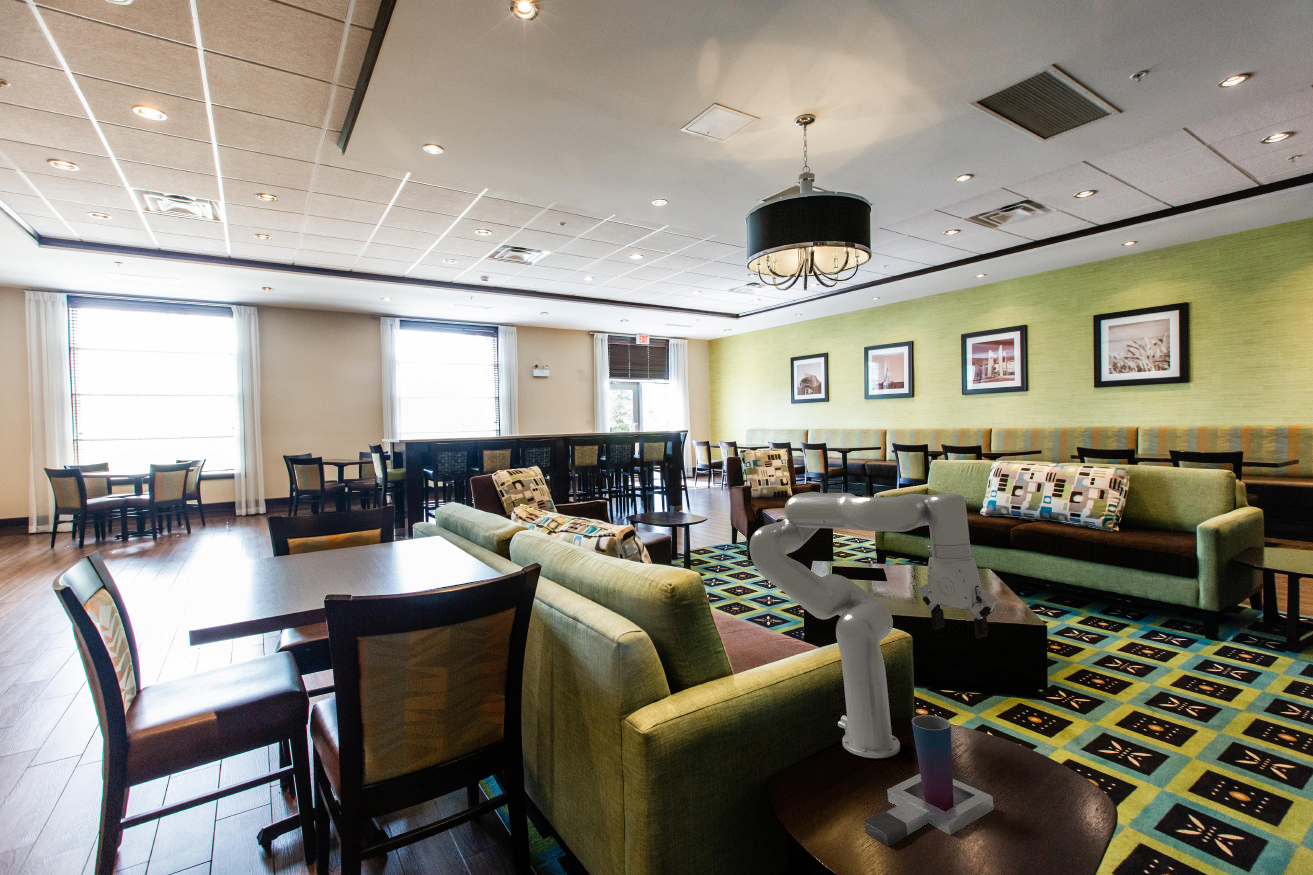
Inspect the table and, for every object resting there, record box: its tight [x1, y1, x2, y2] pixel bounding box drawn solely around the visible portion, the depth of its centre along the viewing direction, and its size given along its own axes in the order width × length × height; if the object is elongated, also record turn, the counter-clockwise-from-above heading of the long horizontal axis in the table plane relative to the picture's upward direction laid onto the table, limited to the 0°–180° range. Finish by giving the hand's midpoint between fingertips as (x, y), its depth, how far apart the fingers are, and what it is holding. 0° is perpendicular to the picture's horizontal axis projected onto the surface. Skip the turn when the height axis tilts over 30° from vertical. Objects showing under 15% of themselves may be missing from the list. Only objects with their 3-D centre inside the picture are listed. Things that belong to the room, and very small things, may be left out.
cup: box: [911, 714, 954, 810], centre depth 113 cm, size 7×7×15 cm
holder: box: [864, 773, 995, 847], centre depth 110 cm, size 24×13×2 cm, turn 120°
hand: (959, 632), depth 126 cm, fingers open, 9 cm apart
